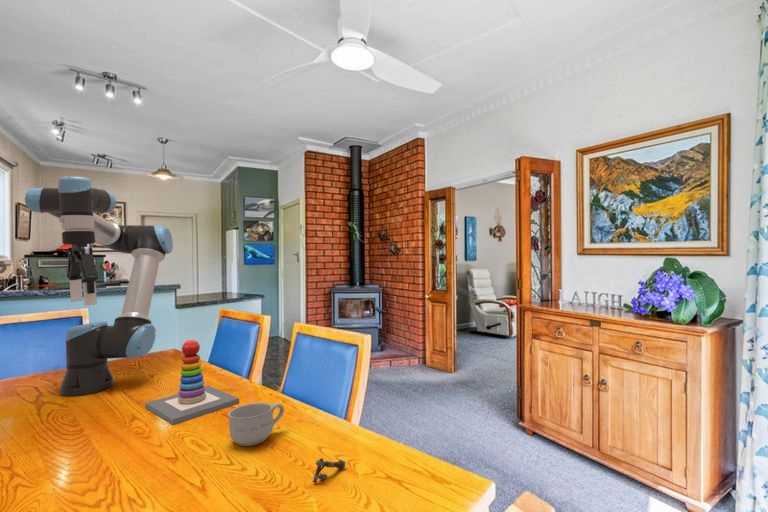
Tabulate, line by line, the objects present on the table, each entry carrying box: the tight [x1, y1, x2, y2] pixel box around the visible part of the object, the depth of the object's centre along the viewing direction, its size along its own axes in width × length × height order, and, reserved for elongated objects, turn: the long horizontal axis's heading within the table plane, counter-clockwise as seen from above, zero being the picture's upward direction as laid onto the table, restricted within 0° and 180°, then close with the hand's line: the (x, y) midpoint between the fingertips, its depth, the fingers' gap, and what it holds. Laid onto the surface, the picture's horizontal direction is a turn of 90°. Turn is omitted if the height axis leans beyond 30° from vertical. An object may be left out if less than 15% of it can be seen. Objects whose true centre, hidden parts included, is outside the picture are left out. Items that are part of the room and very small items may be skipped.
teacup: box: [227, 402, 285, 447], centre depth 98 cm, size 14×11×8 cm
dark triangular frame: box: [312, 458, 347, 484], centre depth 81 cm, size 2×8×4 cm, turn 140°
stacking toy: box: [177, 339, 206, 404], centre depth 121 cm, size 8×8×19 cm
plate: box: [144, 385, 240, 426], centre depth 121 cm, size 20×20×2 cm
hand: (83, 303), depth 113 cm, fingers open, 13 cm apart
